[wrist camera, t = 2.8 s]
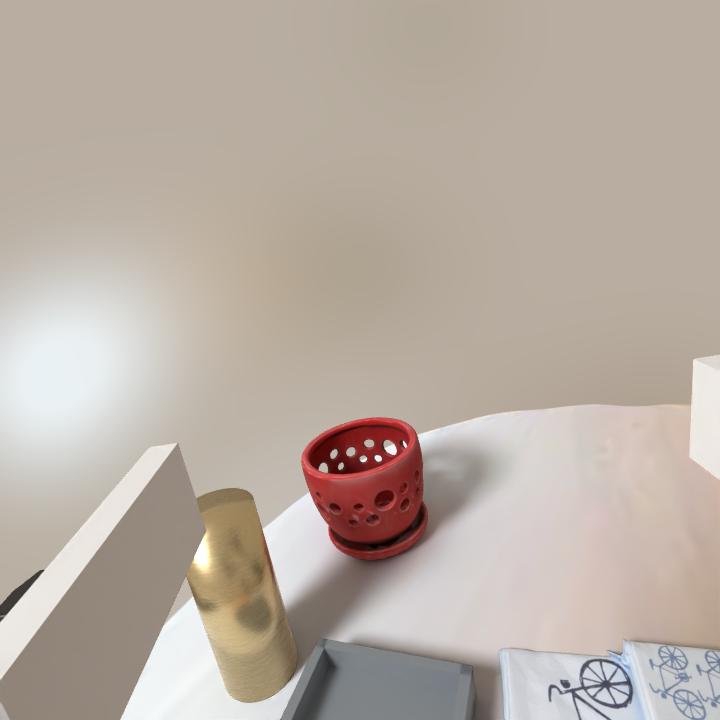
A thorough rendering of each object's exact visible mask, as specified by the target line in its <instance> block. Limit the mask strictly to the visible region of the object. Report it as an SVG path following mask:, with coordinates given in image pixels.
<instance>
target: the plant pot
mask: <svg viewBox="0 0 720 720" xmlns="http://www.w3.org/2000/svg"><path fill="white" fill-rule="evenodd" d="M368 439H370V440H373V441H374V446H373V447H370V448H369V447H366V446H365V445H364V441H365V440H368ZM385 440H390V441H392V442H393V443H394V444H395V446H396V448H397V453H396V455H391V454H389V453H387V452H386V450H385V449H384V446H383V443H384V441H385ZM403 441H405V443H406V444H407V448H405V447H404V445H403ZM350 447H354V448H355V450H356V452H355V455H353V456H351V457H349V456H347V455H346V451H347V449H348V448H350ZM334 449H337V451H338V454H337V456H336V458H334V459H331V457H330V453H331V452H332V450H334ZM363 455H365V456H366V457H367V461H366V462H361V461H360V459H359V458H360V457H361V456H363ZM376 455H380V456H381V457H382V461H380V462H377V461H376V460H375V458H374V457H375V456H376ZM324 462H325V463H326V464H327V466H328V473H324V472H321V471H319V470H318V469H319V466H320V464H321V463H324ZM341 462H343V463H344V467H343V469H341V470H339V469H338V465H339V463H341ZM301 463H302V468H303V472H304V476H305V479H306V483H307V485H308V488H309V491H310V494H311V496H312V499H313V501H314V503H315V505H316V507H317V509H318V511H319V512H320V514H321V516H322V517H323V519H324V520H325V521H326V523H327V524H328V525H329V528H328V531H329V536H330V539H331V541H332V542H333V544H334V545H335V546H336V547H337V548H338V549H339V550H340V551H341V552H343V553H345V554H347V555H349V556H351V557H354V558H358V559H368V560H374V559H382V558H386V557H390V556H393V555H396V554H398V553H400V552H402V551H404V550H406V549H407V548H409V547H410V546H412V545H413V544H414V543H415V542H416V541H417V540H418V539H419V537H420V536H421V535H422V533H423V531H424V529H425V527H426V524H427V520H428V512H427V508H426V506H425V504H424V502H423V501H422V496H423V462H422V454H421V448H420V444H419V440H418V437H417V434H416V432H415V430H414V429H413V428H412V427H411V426H410V425H409V424H407V423H405V422H403V421H401V420H397V419H392V418H381V417H380V418H366V419H360V420H355V421H351V422H348V423H344V424H341V425H339V426H336V427H334V428H332V429H330V430H327V431H325V432H324V433H322V434H321V435H319V436H318V437H316V438H315V439H314V440H312V441H311V442H310V443H309V444H308V446H307V447H306V448H305V450H304V452H303V454H302V460H301Z"/></svg>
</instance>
